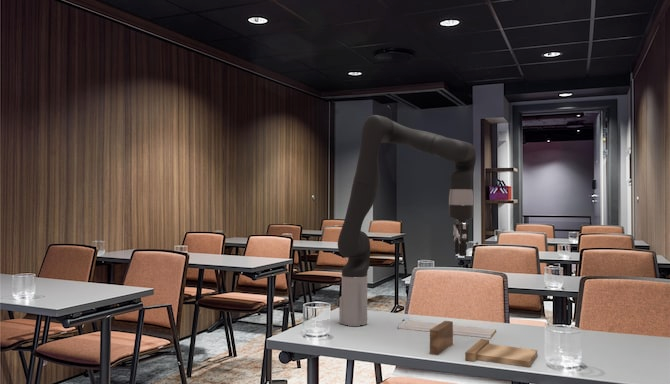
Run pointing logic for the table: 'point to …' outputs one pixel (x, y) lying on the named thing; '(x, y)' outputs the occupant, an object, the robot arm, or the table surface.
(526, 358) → the floor edge
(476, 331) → the baseboard molding
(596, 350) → the table surface
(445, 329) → the plank
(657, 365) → the table surface
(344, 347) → the table surface
